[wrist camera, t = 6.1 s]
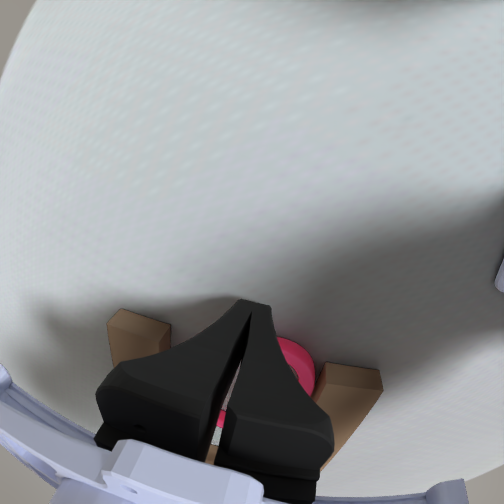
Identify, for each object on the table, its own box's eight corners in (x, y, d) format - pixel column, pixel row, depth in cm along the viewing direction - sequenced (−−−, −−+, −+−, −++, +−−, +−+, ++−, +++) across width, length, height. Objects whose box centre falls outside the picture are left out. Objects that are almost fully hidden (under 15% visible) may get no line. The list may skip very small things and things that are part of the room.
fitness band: (241, 304, 14) (233, 323, 12) (338, 362, 14) (340, 383, 13) (175, 388, 17) (167, 405, 15) (253, 428, 17) (249, 446, 16)
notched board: (379, 370, 13) (383, 390, 12) (306, 473, 19) (304, 488, 17) (120, 308, 15) (106, 323, 13) (139, 431, 20) (132, 444, 18)
